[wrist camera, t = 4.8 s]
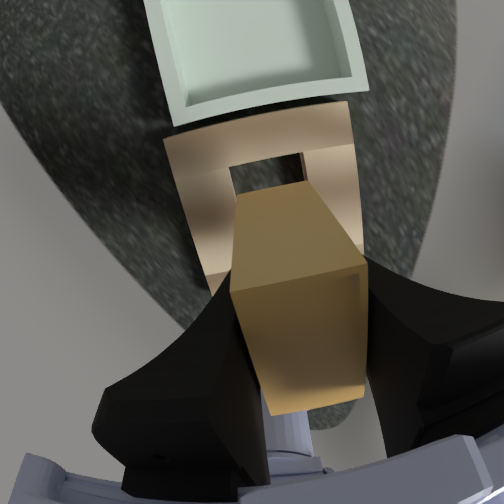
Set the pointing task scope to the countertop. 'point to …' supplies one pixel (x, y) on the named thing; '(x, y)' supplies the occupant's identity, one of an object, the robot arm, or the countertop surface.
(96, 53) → the countertop surface
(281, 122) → the wooden frame
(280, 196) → the tan rectangular block
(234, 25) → the parts tray
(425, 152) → the countertop surface
